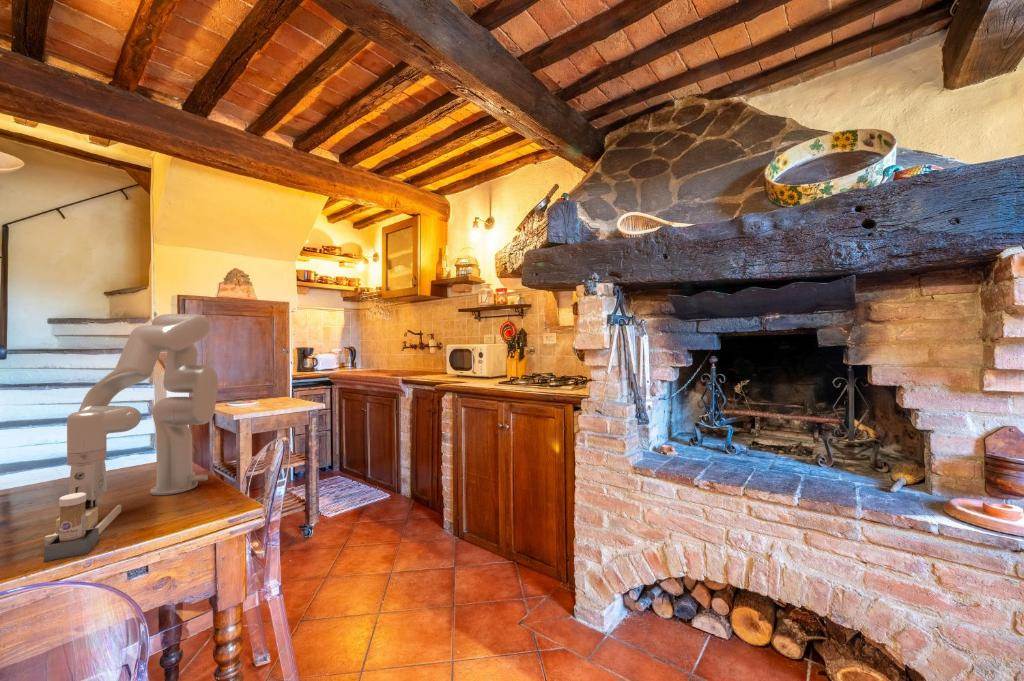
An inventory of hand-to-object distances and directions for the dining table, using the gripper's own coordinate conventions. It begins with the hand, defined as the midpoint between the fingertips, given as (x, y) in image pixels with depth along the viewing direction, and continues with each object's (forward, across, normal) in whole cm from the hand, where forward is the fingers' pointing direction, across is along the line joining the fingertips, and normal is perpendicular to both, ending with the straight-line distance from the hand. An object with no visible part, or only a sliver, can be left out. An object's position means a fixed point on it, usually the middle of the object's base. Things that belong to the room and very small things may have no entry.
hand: (87, 523), depth 113 cm
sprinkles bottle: (+1, -15, -2) cm, 15 cm away
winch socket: (+1, -15, -2) cm, 15 cm away
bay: (+1, 0, 0) cm, 1 cm away
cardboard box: (+1, -6, 0) cm, 6 cm away
